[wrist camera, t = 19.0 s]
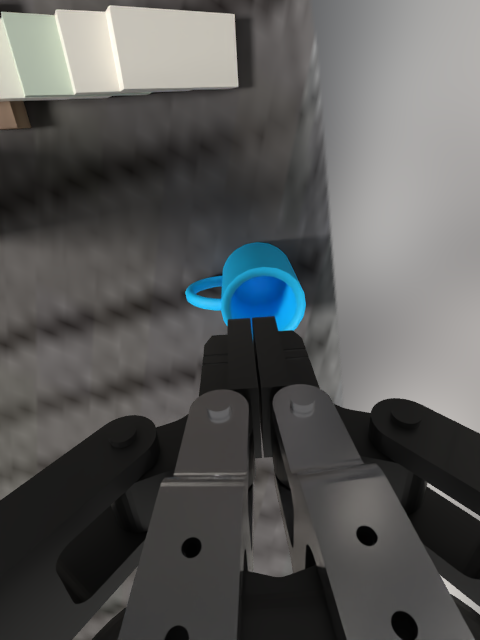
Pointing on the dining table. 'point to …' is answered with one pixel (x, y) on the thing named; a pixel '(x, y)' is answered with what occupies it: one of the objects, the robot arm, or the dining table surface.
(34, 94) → the domino
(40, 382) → the dining table surface
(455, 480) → the robot arm
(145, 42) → the domino
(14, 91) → the domino
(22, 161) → the dining table surface
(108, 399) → the dining table surface
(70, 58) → the domino
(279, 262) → the mug
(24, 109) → the end stop
